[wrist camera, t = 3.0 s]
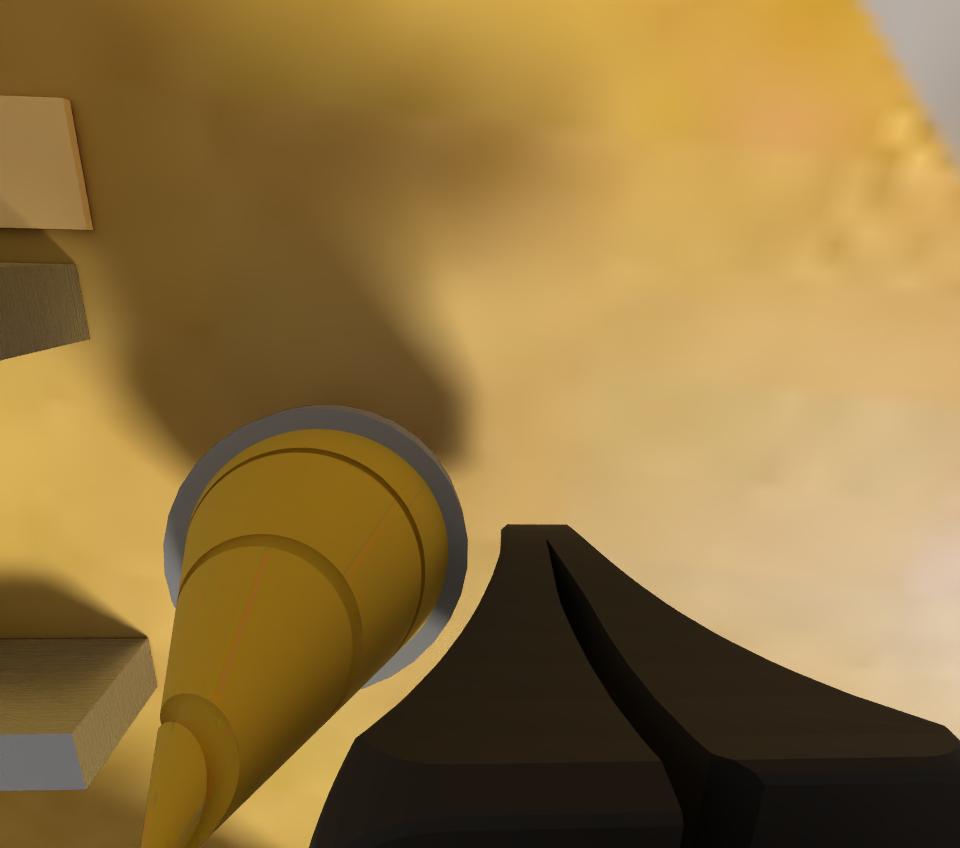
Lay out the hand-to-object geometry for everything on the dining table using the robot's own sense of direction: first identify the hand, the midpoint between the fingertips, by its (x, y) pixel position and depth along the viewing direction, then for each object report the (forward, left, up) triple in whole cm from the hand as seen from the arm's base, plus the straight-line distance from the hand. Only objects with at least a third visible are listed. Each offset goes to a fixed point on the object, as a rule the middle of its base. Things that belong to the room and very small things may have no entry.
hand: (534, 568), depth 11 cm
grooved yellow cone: (0, +4, -3) cm, 5 cm away
